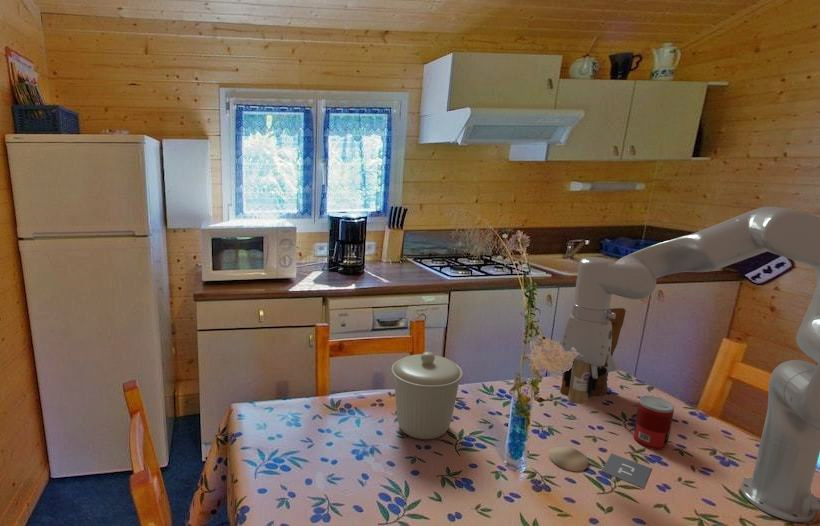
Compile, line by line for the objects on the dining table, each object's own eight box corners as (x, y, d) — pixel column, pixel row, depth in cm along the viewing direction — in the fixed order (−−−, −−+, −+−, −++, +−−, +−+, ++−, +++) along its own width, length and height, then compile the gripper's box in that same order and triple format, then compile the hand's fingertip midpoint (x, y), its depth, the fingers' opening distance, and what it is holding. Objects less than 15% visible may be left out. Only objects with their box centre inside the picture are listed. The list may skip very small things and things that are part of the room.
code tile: (651, 468, 110) (651, 468, 110) (643, 488, 103) (643, 488, 103) (611, 453, 115) (611, 453, 115) (601, 471, 108) (601, 470, 108)
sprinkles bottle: (577, 406, 106) (585, 350, 103) (563, 397, 110) (570, 343, 107) (592, 403, 108) (600, 348, 105) (577, 394, 112) (584, 341, 109)
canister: (471, 439, 118) (478, 361, 114) (406, 455, 110) (411, 372, 106) (437, 405, 134) (441, 336, 130) (378, 417, 126) (381, 343, 122)
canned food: (671, 452, 117) (678, 412, 115) (637, 447, 119) (643, 407, 116) (661, 435, 124) (668, 397, 122) (629, 431, 126) (635, 393, 124)
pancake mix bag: (619, 397, 145) (633, 310, 139) (563, 400, 141) (574, 311, 135) (607, 387, 151) (619, 304, 146) (552, 389, 148) (562, 304, 142)
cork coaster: (593, 458, 113) (593, 456, 113) (581, 476, 106) (581, 474, 106) (556, 443, 118) (556, 441, 118) (543, 460, 111) (543, 458, 111)
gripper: (634, 318, 103) (622, 394, 106) (558, 301, 112) (549, 372, 116) (626, 326, 97) (613, 407, 100) (547, 308, 106) (538, 382, 110)
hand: (579, 387), depth 108 cm, fingers closed on sprinkles bottle, 4 cm apart
